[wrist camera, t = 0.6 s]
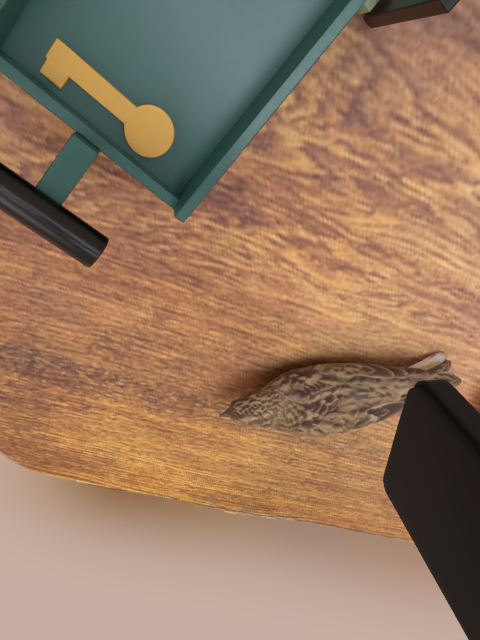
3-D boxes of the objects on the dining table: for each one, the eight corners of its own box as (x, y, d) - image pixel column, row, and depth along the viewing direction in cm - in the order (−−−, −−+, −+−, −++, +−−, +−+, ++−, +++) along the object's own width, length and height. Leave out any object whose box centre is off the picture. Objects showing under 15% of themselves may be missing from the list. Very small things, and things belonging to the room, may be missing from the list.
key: (184, 128, 21) (184, 129, 20) (154, 166, 21) (154, 168, 21) (67, 23, 18) (66, 22, 18) (37, 70, 19) (35, 70, 18)
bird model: (223, 460, 37) (225, 447, 33) (214, 390, 40) (214, 370, 36) (461, 423, 40) (493, 408, 35) (438, 360, 42) (464, 338, 38)
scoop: (128, 269, 24) (124, 298, 21) (-67, 136, 20) (-106, 147, 17) (404, -72, 19) (452, -99, 16) (225, -348, 15) (244, -457, 12)
